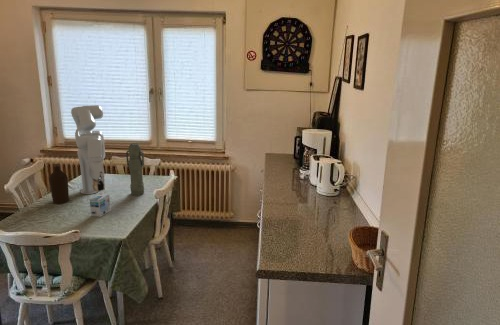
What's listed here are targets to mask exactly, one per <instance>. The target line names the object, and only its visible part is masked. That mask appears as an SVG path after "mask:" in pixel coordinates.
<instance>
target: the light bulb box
mask: <svg viewBox="0 0 500 325" xmlns="http://www.w3.org/2000/svg"><path fill="white" fill-rule="evenodd" d="M110 199H111V198H110V194H109V193H102V192H100V193H99V192H98V194H96V195H94V196H92V197H91V198H89V207H90V208H89V209H90V215H91V217H100V218H102V217H103V216H104V215H106V214H108V213H109V212H111V201H110Z"/></svg>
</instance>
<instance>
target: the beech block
mask: <svg viewBox="0 0 500 325" xmlns="http://www.w3.org/2000/svg"><path fill="white" fill-rule="evenodd" d="M99 181H100V180H99ZM103 185H104V190H101V191H100V192H102V191H105V190H106V187H105V186H106V185H105V182H104V183H103ZM92 186H93V190H94V191H96V192H97V193H99V192H98V180H96V179H95V180H92Z"/></svg>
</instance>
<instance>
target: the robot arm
mask: <svg viewBox="0 0 500 325" xmlns="http://www.w3.org/2000/svg"><path fill="white" fill-rule="evenodd" d="M70 113H71V114H70V115H71V117H72V119H73V121H74V123H75V125H76V130H75V132H74V138H75V143H76V146H77V148H78V150H77V158H78V162H79V166H80V167H79V168H80V177H81V185H82V187H81V188H82V189H81V190H80V193H81V194H82V195H92V194H94V195H95V194H96V193H99V192H102V191H101V190H103V191H105V190H104V185H103V183H104V184H105V169H104V164H103V162H104V159H105V158H106V148H105V139H104V134H103V132H102V131H100V130H94V129H95V128H96V125H97V124H96V121H95V120H100V119H103V117H104V110H103V108H102V107H101V105H99V104H98V105H96V104H95V105H93V104H92V105H82V106H74V107H72V108H71V111H70ZM95 179H96V180H98V192H96V191H94V190H93V186H92V180H95ZM99 180H100V181H99Z"/></svg>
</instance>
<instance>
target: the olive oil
mask: <svg viewBox="0 0 500 325" xmlns="http://www.w3.org/2000/svg"><path fill="white" fill-rule="evenodd" d="M68 179H69V178H68V175H67V174H66V173H65V172H64V171H62V170H61V166H60V163H55V164H53V172H52V173H51V174H50V175H49V177H48V183H49V187H50V192H51V198H52V203H53V204H54V205H62V204H66V203H68V202H69V201H70V195H69V182H68V181H69V180H68Z"/></svg>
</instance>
